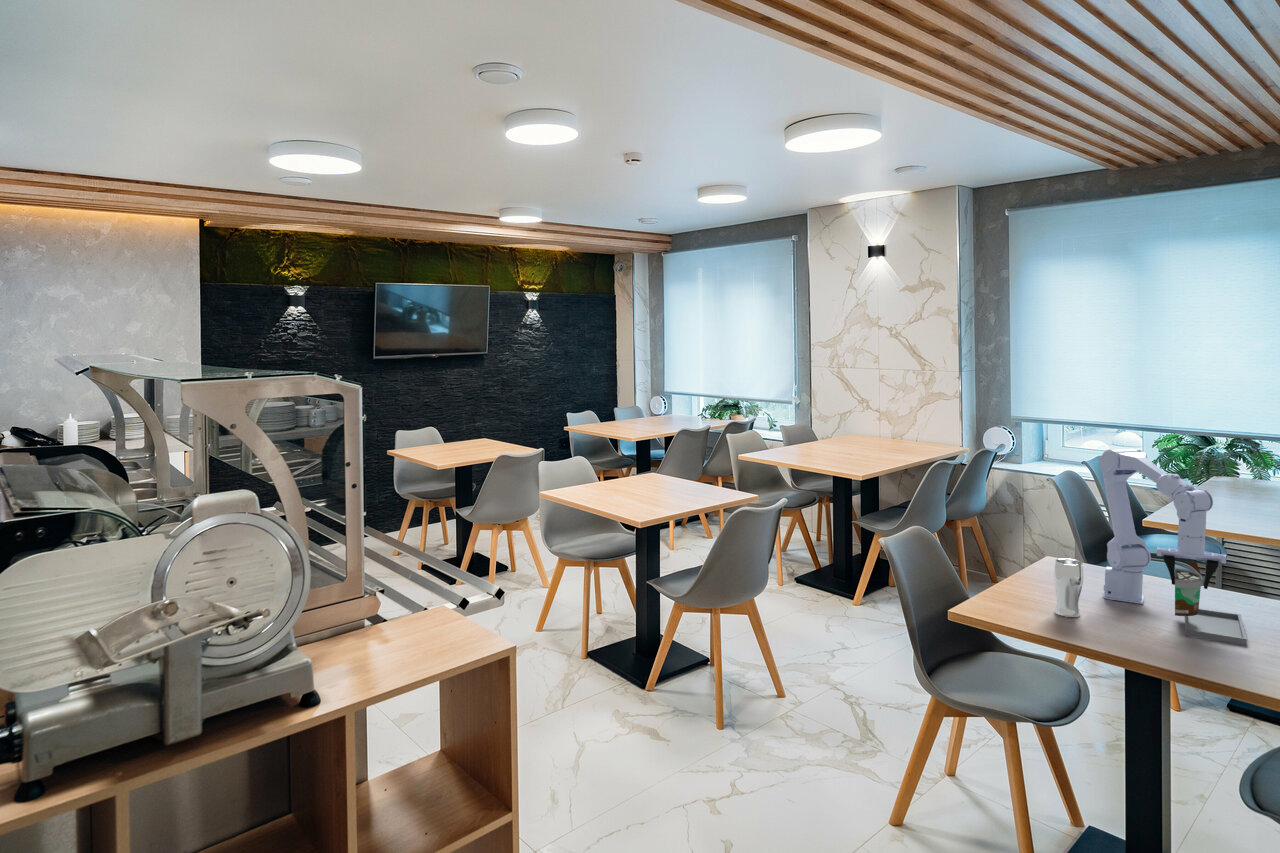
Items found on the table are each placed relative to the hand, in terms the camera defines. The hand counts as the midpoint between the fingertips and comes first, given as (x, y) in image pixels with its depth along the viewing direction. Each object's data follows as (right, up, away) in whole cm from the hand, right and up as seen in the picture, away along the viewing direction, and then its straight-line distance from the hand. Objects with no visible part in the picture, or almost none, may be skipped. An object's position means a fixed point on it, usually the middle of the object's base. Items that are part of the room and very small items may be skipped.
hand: (1189, 585), depth 194 cm
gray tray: (+5, -11, -2) cm, 12 cm away
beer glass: (-26, -10, +10) cm, 30 cm away
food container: (0, -7, +1) cm, 7 cm away
